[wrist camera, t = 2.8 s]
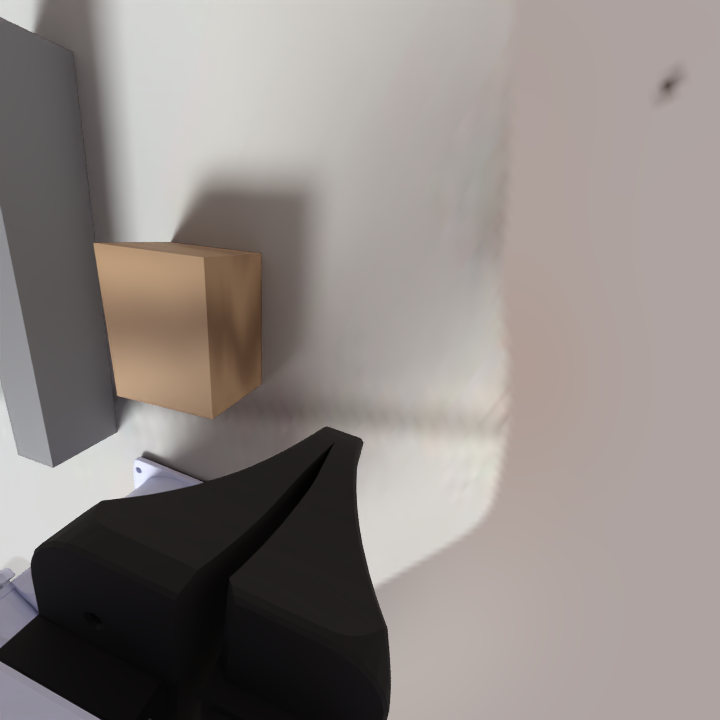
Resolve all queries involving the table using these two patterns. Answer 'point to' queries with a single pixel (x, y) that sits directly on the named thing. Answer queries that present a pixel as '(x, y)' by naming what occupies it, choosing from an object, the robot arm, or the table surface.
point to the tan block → (182, 323)
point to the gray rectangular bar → (48, 259)
